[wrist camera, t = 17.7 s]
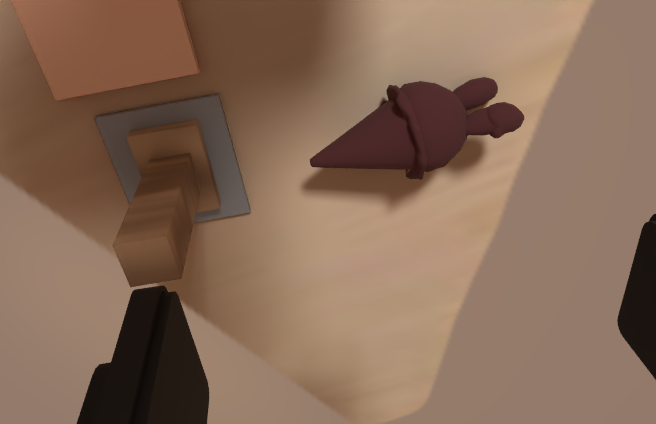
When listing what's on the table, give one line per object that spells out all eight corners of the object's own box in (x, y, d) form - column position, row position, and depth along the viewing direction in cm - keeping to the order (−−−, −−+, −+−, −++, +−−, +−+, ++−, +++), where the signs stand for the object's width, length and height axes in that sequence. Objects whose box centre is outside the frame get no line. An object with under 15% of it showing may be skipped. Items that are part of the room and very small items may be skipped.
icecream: (332, 232, 38) (530, 166, 39) (309, 155, 33) (539, 80, 33) (311, 170, 43) (487, 113, 44) (287, 95, 38) (488, 30, 38)
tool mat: (95, 116, 39) (94, 118, 38) (218, 93, 39) (218, 95, 38) (142, 230, 44) (141, 232, 44) (250, 210, 44) (250, 212, 44)
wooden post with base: (130, 130, 39) (81, 218, 29) (198, 118, 39) (173, 202, 29) (159, 211, 43) (124, 315, 32) (221, 200, 43) (206, 301, 33)
